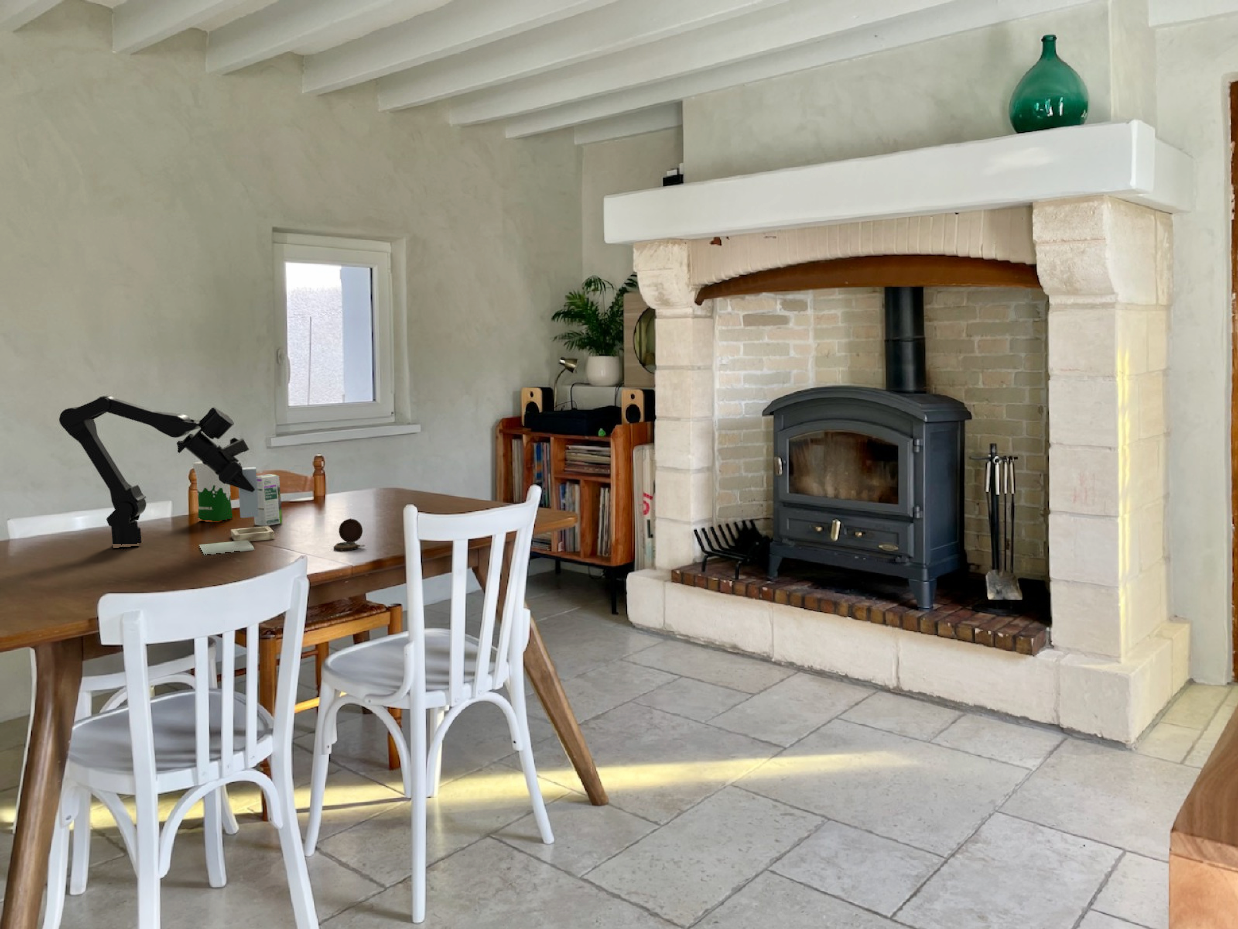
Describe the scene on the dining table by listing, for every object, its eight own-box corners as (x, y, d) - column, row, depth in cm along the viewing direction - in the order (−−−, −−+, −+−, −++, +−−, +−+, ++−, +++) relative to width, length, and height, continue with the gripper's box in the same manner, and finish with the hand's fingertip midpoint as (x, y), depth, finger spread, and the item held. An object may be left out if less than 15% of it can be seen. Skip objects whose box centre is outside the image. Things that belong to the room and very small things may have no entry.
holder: (235, 542, 267) (235, 535, 267) (231, 536, 276) (230, 529, 275) (274, 538, 271) (274, 531, 271) (268, 533, 280) (268, 526, 280)
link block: (240, 517, 268) (238, 469, 267) (240, 515, 272) (237, 467, 271) (258, 516, 270) (256, 468, 268) (257, 514, 274) (255, 466, 273)
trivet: (203, 555, 251) (203, 552, 251) (199, 547, 262) (199, 544, 262) (254, 550, 257) (254, 547, 257) (247, 542, 267) (247, 540, 267)
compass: (330, 551, 253) (328, 523, 253) (341, 545, 261) (339, 518, 260) (360, 551, 253) (359, 523, 252) (371, 545, 261) (369, 518, 260)
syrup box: (265, 526, 290) (262, 477, 289) (253, 524, 294) (250, 475, 292) (282, 523, 295) (279, 474, 293) (271, 521, 298) (268, 473, 297)
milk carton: (237, 518, 306) (233, 453, 303) (217, 523, 297) (213, 456, 295) (213, 517, 308) (208, 452, 306) (192, 522, 300) (188, 456, 297)
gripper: (230, 431, 258) (277, 471, 264) (227, 426, 275) (271, 464, 281) (198, 463, 256) (247, 503, 262) (198, 456, 273) (243, 493, 279)
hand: (253, 489), depth 271 cm, fingers closed on link block, 4 cm apart
